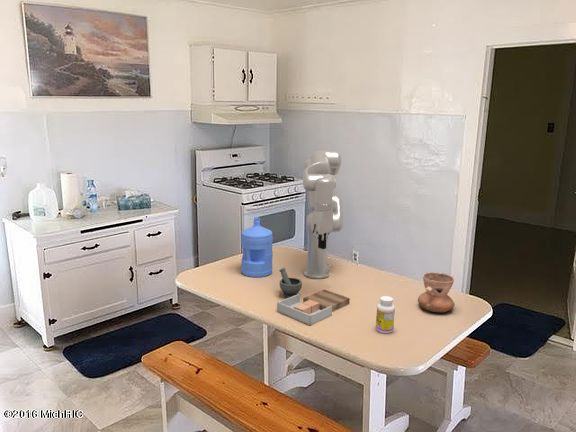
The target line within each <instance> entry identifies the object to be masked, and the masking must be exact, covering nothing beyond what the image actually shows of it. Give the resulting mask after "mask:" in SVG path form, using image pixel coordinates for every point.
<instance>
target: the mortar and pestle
mask: <svg viewBox="0 0 576 432" xmlns="http://www.w3.org/2000/svg"><path fill="white" fill-rule="evenodd" d="M279 272H280V275H281V277H282V278H281V279H280V280H279V288H280V290H281V292H282V295H283V298H284V299H287V298H290V297H292V296H295V295H297V294H299V292H300V291H301V289H302V285H303V282H302V280H301V279H300V278H296V277H289V276H288V274H287V270H286V268H285V267H282V268H280V269H279Z"/></svg>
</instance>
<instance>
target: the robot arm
mask: <svg viewBox="0 0 576 432" xmlns="http://www.w3.org/2000/svg"><path fill="white" fill-rule="evenodd" d="M341 156H342V155H341V153H340V152H339V151H338V150H335V149H334V150H331V149H330V150H327V149H319V150H315V151H313V152H312V153H311V155H310V158H307V159H306V160H305V161H304V162H303V173H302V186H303V189H304V191H306V192H308V203H309V210H310V211H312V212H310V213H309V214H307V216H306V230H307V257H306V258H307V259H306V262H307V263H306V269H305V270H304V271H303V275H304V276H305V277H307V278H309V279H313V280H315V279H318V280H321V279H325V278H328V277H329V276H330V272H329V269H330V268H332V267H333V265H332V263H329V264H327V261H328V260H327V259H328V258H327V257H328V236H329V235H330V234H331V233H340V232H341V231H342V229H343V226H344V219H343V205H342V204H343V203H342V198H341V195H340V194H338V193H334V190H335V189H336V186H337V178H335V177H336V175H337V174H338V173H339V171H340V169H341V164H342V157H341Z"/></svg>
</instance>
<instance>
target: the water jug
mask: <svg viewBox="0 0 576 432" xmlns="http://www.w3.org/2000/svg"><path fill="white" fill-rule="evenodd" d="M240 233H241V234H240V244H241V247H242V257H241V260H240V261H241V267H240V272H241V273H242V275H244V276H247V277H252V278H262V277H268V276H270V275H271V274H272V273H273V255H274V254H273V240H274V236H273V231H272V230H270V229H269V228H265V227H264V226H261V217H257V216H256V217H253V225H252V226H250V227H248V228H246V229H244V230H241V232H240Z"/></svg>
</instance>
